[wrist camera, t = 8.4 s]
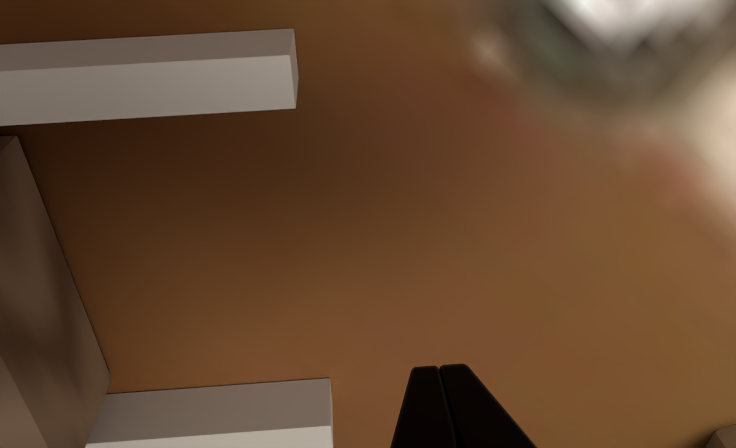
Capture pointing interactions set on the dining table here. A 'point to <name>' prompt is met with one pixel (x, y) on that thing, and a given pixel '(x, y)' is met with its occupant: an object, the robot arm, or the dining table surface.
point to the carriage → (41, 324)
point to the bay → (170, 98)
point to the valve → (723, 438)
